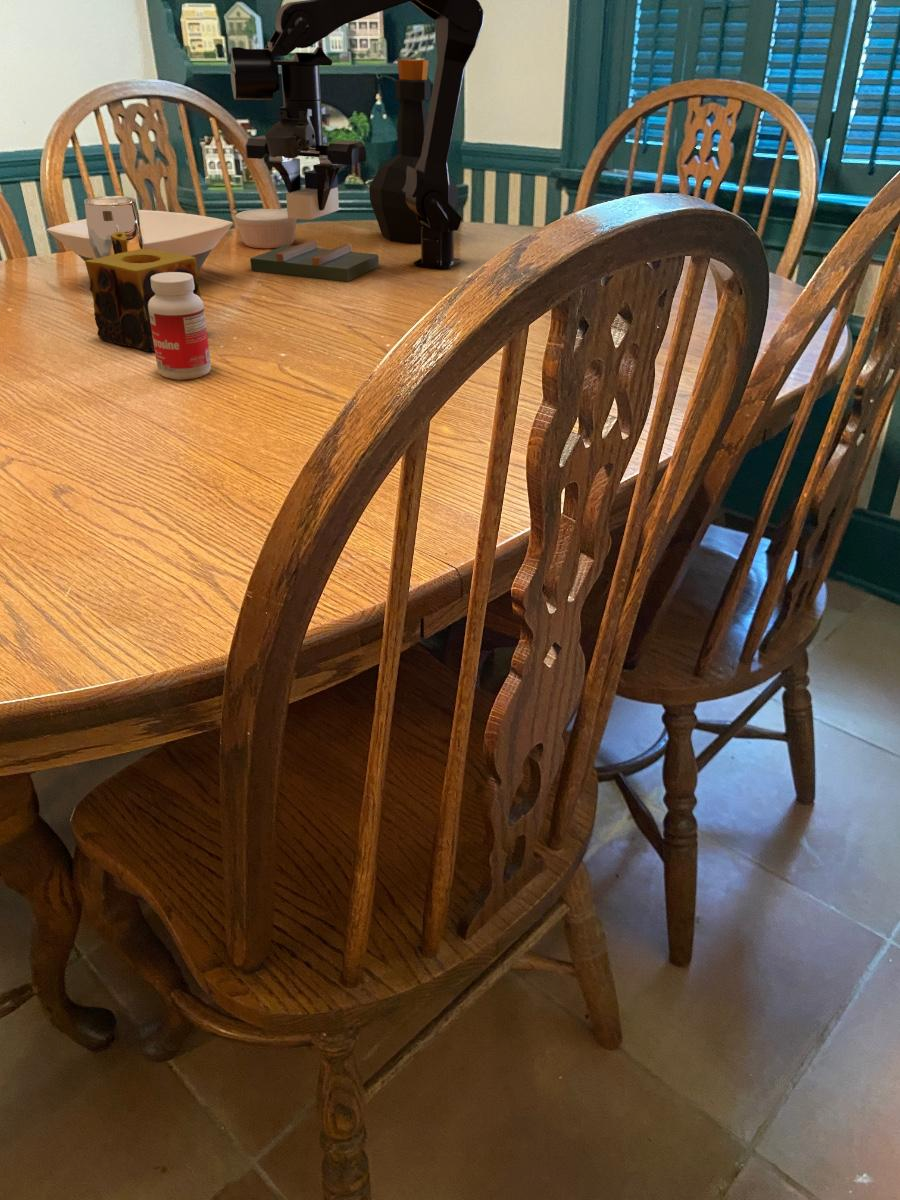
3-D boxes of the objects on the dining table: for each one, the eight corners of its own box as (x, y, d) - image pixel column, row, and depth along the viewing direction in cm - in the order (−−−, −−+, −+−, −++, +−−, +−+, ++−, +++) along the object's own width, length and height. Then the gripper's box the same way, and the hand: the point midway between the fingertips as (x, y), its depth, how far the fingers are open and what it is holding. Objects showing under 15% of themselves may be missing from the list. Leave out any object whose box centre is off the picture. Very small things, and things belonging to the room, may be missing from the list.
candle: (150, 354, 113) (136, 271, 108) (96, 340, 118) (80, 260, 112) (209, 334, 121) (199, 256, 115) (155, 322, 125) (143, 246, 120)
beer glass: (140, 322, 125) (120, 205, 117) (94, 318, 126) (71, 202, 118) (163, 309, 131) (146, 197, 123) (119, 305, 132) (99, 194, 124)
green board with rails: (287, 256, 161) (285, 237, 160) (378, 266, 156) (378, 247, 154) (251, 270, 152) (249, 250, 150) (347, 281, 146) (346, 261, 145)
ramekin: (228, 247, 166) (225, 217, 164) (252, 236, 176) (249, 207, 173) (285, 251, 165) (283, 220, 162) (307, 239, 174) (305, 210, 171)
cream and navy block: (316, 208, 153) (314, 169, 150) (339, 210, 152) (337, 171, 149) (287, 218, 145) (284, 177, 142) (310, 220, 144) (308, 179, 141)
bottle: (409, 249, 168) (408, 61, 152) (356, 235, 178) (349, 58, 162) (472, 238, 177) (476, 60, 161) (417, 225, 187) (416, 57, 171)
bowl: (44, 287, 140) (31, 229, 136) (149, 259, 157) (141, 207, 153) (152, 306, 132) (142, 245, 127) (251, 275, 149) (245, 220, 144)
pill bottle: (148, 372, 108) (132, 276, 102) (190, 360, 112) (177, 267, 106) (179, 384, 104) (164, 286, 98) (222, 372, 108) (211, 276, 102)
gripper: (220, 100, 135) (232, 212, 144) (332, 105, 130) (338, 222, 138) (259, 96, 144) (268, 201, 152) (365, 101, 138) (369, 210, 147)
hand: (309, 209), depth 147 cm, fingers closed on cream and navy block, 4 cm apart
